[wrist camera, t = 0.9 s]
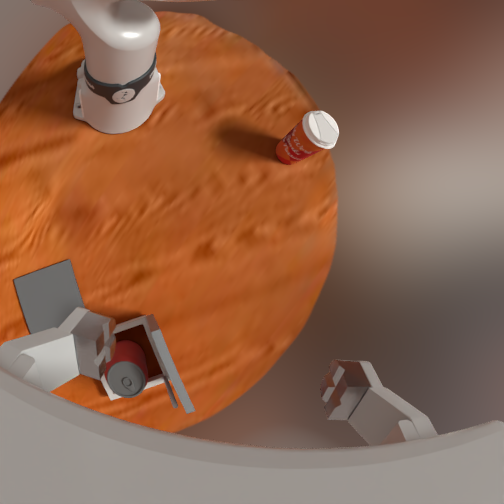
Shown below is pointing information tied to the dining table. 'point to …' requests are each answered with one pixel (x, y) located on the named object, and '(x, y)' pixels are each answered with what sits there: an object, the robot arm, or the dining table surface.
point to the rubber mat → (48, 296)
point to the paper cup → (308, 137)
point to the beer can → (127, 370)
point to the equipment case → (163, 360)
